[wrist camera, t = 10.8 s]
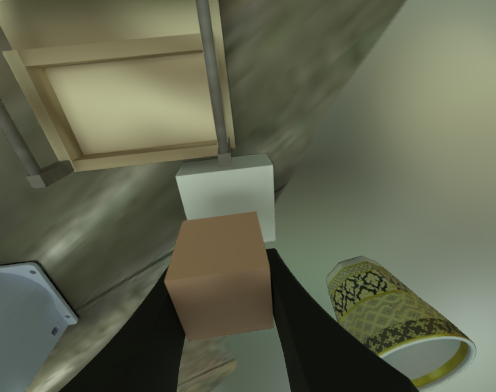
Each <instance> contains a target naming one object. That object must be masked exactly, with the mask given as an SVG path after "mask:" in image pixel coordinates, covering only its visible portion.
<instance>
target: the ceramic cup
mask: <svg viewBox="0 0 496 392" xmlns="http://www.w3.org/2000/svg"><path fill="white" fill-rule="evenodd" d="M326 282H327V287H328V291H329V295H330V298H331V302H332V305H333V308H334V311H335V314H336V318H337V322H338V323H339V324H340V325H341V326H342V327H343V328H344V329H346V330H347V331H348V332H349V333H350V334H352V335H353V336H354V337H355V338H356V339H357V340H359V341H360V342H361V343H362V344H364V345H365V346H366V347H367V348H369V349H370V350H371V351H373V352H374V353H375V354H376V355H378V356H379V357H380V358H382V359H383V360H384V361H386V362H387V363H389V364H390V365H391V366H393V367H394V368H396V369H397V370H398V371H400V372H401V373H403V374H404V375H405V376H407V377H408V378H409V379H410V380H411V381H412V383H413V384H414V385H415V387H416V388H417V389H418V391H419V392H428V391H430V390H433V389H435V388H437V387H439V386H442V385H444V384H445V383H447V382H449V381H451V380H452V379H454V378H456V377H457V376H458V375H460V374H461V373H462V372H464V371H465V370H466V369H467V368H468V367H469V365H470V364H471V363H472V361H473V360H474V358H475V356H476V346H475V344H474V343H473V342H472V341H471V340H470V339H469V338H468V337H467V336H466V335H465V334H463V333H462V332H461V331H460V330H459V329H458V328H457V327H456V326H455V325H454V324H452V323H451V322H450V321H449V320H447V319H446V318H445V317H444V316H443V315H441V314H440V313H439V312H438V311H437V310H435V309H434V308H433V307H431V306H430V305H429V304H428V303H426V302H425V301H423V300H422V299H421V298H419V297H418V296H417V295H416V294H414V293H413V292H412V291H411V290H410V289H409V288H408V287H406V286H405V285H404V284H403V283H402V282H400V281H399V280H398V279H397V278H395V277H394V276H393V275H392V274H391V273H389V272H388V271H387V270H386V269H385V268H384V267H382V266H381V265H380V264H379V263H377V262H375V261H373V260H371V259H369V258H366V257H363V256H359V257H355V258H352V259H349V260H346V261H342V262H339V263H338V265H337V266H336V267H335V268H334V269H333V270H332V271H331V272H330V273H329V275H328V276H327V277H326Z"/></svg>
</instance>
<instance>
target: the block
mask: <svg viewBox="0 0 496 392" xmlns="http://www.w3.org/2000/svg"><path fill="white" fill-rule="evenodd" d="M164 282H165V285H166V287H167V290H168V292H169V295H170V297H171V299H172V302H173V304H174V307H175V309H176V312H177V314H178V317H179V319H180V322H181V324H182V327H183V329H184V332H185V334H186V336H187V339H188V341H192V340H199V339H206V338H212V337H219V336H225V335H232V334H238V333H244V332H251V331H258V330H265V329H271V328H274V323H273V308H272V294H271V280H270V266H269V262H268V258H267V253H266V249H265V245H264V241H263V237H262V233H261V228H260V224H259V220H258V216H257V212H256V211H254V212H246V213H239V214H231V215H224V216H216V217H209V218H201V219H194V220H186V221H183V222H182V225H181V228H180V232H179V235H178V238H177V241H176V245H175V248H174V251H173V254H172V257H171V261H170V264H169V267H168V270H167V274H166V277H165V280H164Z"/></svg>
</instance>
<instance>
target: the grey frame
mask: <svg viewBox="0 0 496 392" xmlns="http://www.w3.org/2000/svg"><path fill="white" fill-rule="evenodd" d="M0 26H1V28H2V30H3V32H4V34H5V36H6V38H7V40H8V42H9V44H10V46H11V48H12V49H13V50H12V51H2V53H3V55H4V57H5V59H6V60H7V62H8V64H9V66H10V68H11V70H12V72H13V74H14V76H15V78H16V80H17V81H18V83H19V85H20V87H21V89H22V91H23V93H24V95H25V97H26V99H27V101H28V103H29V104H30V106H31V108H32V110H33V112H34V114H35V116H36V118H37V120H38V122H39V124H40V125H41V127H42V129H43V131H44V133H45V135H46V137H47V139H48V141H49V143H50V145H51V146H52V148H53V150H54V152H55V154H56V156H57V158H58V160H59V161H57V162H55V163H53V164H51V165H49V166H47V167H45V168H42V169H40V167H39V165H38V164H37V162H36V160H35V158H34V157H33V155H32V153H31V151H30V150H29V148H28V146H27V144H26V143H25V141H24V139H23V137H22V136H21V134H20V132H19V131H18V129H17V127H16V125H15V124H14V122H13V120H12V118H11V117H10V115H9V113H8V111H7V110H6V108H5V106H4V105H3V103H2V101H1V99H0V128H1V129H2V131H3V133H4V134H5V136H6V137H7V139H8V141H9V142H10V144H11V146H12V147H13V149H14V151H15V152H16V154H17V155H18V157H19V159H20V160H21V162H22V164H23V165H24V167H25V169H26V170H27V172H28V173H29V175H27V176H25V177H26V178H27V180H28V182H29V183H30V185H31V186H32V188H33V189H34V188H42V187H47V186H49V185H51V184H52V183H54V182H56V181H58V180H59V179H61V178H63V177H64V176H66V175H68V174H70V173H71V172H79V171H87V170H96V169H105V168H114V167H122V166H131V165H140V164H148V163H157V162H166V161H175V160H183V159H192V158H201V157H210V156H218V161H219V167H222V166H231V165H232V159H231V149H232V148H236V147H235V138H234V130H233V121H232V113H231V104H230V96H229V87H228V79H227V70H226V62H225V53H224V45H223V36H222V28H221V19H220V11H219V2H218V0H0Z"/></svg>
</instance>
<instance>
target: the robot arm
mask: <svg viewBox="0 0 496 392" xmlns="http://www.w3.org/2000/svg"><path fill="white" fill-rule="evenodd" d="M266 253H267V258H268V262H269V266H270V280H271V294H272V308H273V316H274V320H275V323H276V327H277V330H278V334H279V338H280V341H281V345H282V349H283V353H284V357H285V363H286V368H287V373H288V377H289V383H290V389H291V392H419V391H418V389H417V388H416V387H415V385H414V384H413V383H412V381H411V380H410V379H409V378H408V377H407V376H405V375H404V374H403V373H401V372H400V371H398V370H397V369H396V368H394V367H393V366H391V365H390V364H389V363H387V362H386V361H384V360H383V359H382V358H380V357H379V356H378V355H376V354H375V353H374V352H373V351H371V350H370V349H369V348H367V347H366V346H365V345H364V344H362V343H361V342H360V341H359V340H357V339H356V338H355V337H354V336H353V335H352V334H350V333H349V332H348V331H347V330H346V329H344V328H343V327H342V326H341V325H340V324H339V323H338V322H336V321H335V320H334V319H333V318H332V317H331V316H330V315H329V314H328V313H327V312H326V311H325V310H324V309H323V308H322V307H321V306H320V305H319V304H318V303H317V302H316V301H315V300H314V299H313V298H312V297H311V296H310V295H309V293H307V291H306V290H305V289H304V288H303V287H302V286H301V284H300V283H299V282H298V281H297V279H296V278H295V277H294V276H293V274H292V273H291V272H290V270H289V269H288V267H287V266H286V265H285V263H284V262H283V260H282V259H281V257H280V256H279V254H278V252H277V250H276V249H275V248H272V249H266ZM168 267H169V266H168ZM168 267H167V268H166V270H165V271H164V273H163V274H162V276H161V277H160V279H159V280H158V282H157V283H156V284H155V286H154V287H153V289H152V290H151V291H150V293H149V294H148V295H147V297H146V298H145V300H144V301H143V302H142V304H141V305H140V306H139V307H138V309H137V310H136V311H135V312H134V314H133V315H132V316H131V317H130V319H129V320H128V321H127V322H126V324H125V325H124V326H123V327H122V328H121V329H120V331H119V332H118V333H117V334H116V335H115V336H114V337H113V338H112V340H111V341H110V342H109V343H108V344H107V345H106V346H105V347H104V348H103V349H102V350H101V351H100V352H99V353H98V354H97V355H96V356H95V357H94V358H93V359H92V360H91V361H90V362H89V363H88V364H87V365H86V366H85V367H84V368H83V369H82V370H81V371H80V372H79V373H78V374H77V375H76V376H75V377H74V378H73V379H72V380H71V381H70V382H69V383H68V384H66V385H65V386H64V387H63V388H62V389H61V390H60V391H59V392H177V383H178V374H179V366H180V360H181V355H182V350H183V344H184V339H185V332H184V329H183V327H182V324H181V322H180V319H179V317H178V314H177V312H176V309H175V307H174V304H173V302H172V299H171V297H170V295H169V292H168V290H167V287H166V285H165V282H164V280H165V277H166V274H167V270H168ZM77 321H78V318H77V316H76V315H75V314H74V312H73V311H72V310H71V308H70V307H69V306H68V304H67V303H66V302H65V300H64V299H63V298H62V296H61V295H60V294H59V292H58V291H57V290H56V288H55V287H54V286H53V284H52V283H51V282H50V280H49V279H48V278H47V276H46V275H45V274H44V272H43V271H42V270H41V268H40V267H39V266H38V265H37V264H36V263H34V262H27V263H20V264H12V265H4V266H0V392H24V391H25V390H26V389H27V387H28V386H29V385H30V383H31V382H32V381H33V379H34V377H35V376H36V374H37V373H38V371H39V370H40V368H41V367H42V365H43V364H44V362H45V361H46V359H47V357H48V356H49V354H50V353H51V351H52V350H53V348H54V347H55V345H56V344H57V342H58V340H59V339H60V337H61V336H62V334H63V333H64V331H65V330H66V328H67V327H68V325H73V324H76V323H77Z"/></svg>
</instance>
